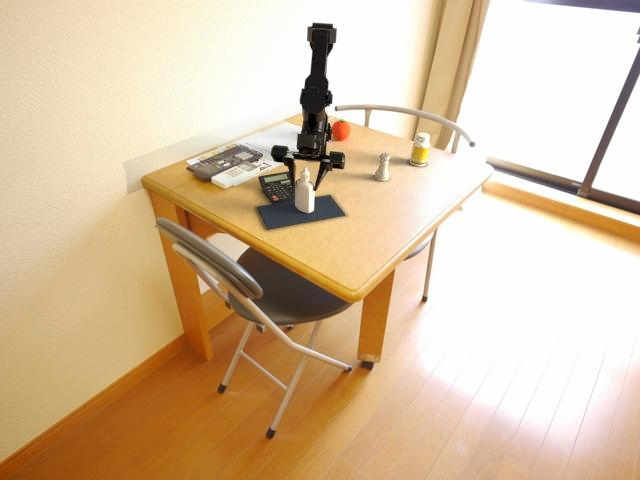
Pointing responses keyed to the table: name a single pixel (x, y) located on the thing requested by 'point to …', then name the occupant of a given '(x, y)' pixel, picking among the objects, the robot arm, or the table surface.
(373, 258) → the table surface
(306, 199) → the eye dropper bottle
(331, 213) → the placemat
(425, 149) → the supplement bottle
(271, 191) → the calculator
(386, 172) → the rook chess piece
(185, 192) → the table surface
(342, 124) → the clementine
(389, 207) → the table surface
